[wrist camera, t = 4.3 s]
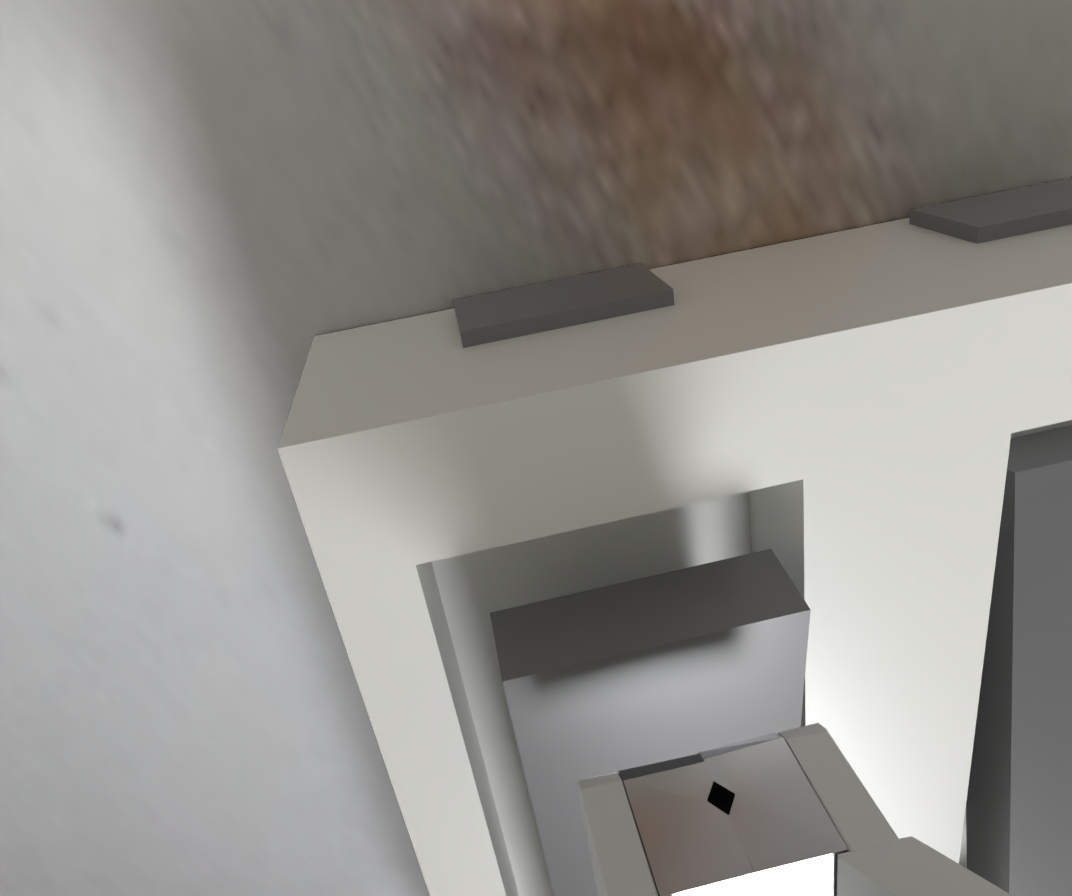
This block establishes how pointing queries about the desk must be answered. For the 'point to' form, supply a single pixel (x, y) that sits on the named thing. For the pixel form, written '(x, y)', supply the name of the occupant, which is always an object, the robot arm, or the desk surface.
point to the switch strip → (689, 490)
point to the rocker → (645, 682)
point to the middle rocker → (1027, 682)
